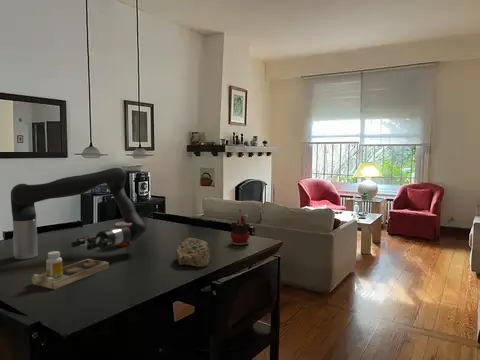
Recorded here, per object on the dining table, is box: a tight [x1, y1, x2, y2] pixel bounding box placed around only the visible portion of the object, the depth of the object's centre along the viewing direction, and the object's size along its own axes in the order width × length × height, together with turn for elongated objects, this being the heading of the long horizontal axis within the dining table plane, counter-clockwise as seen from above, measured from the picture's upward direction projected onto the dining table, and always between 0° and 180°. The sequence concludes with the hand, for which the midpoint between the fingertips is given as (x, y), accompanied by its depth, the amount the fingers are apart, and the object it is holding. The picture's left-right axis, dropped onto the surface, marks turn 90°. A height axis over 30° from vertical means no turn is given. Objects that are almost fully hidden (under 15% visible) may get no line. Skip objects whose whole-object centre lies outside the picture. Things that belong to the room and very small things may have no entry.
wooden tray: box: [31, 258, 110, 290], centre depth 147 cm, size 12×26×4 cm, turn 155°
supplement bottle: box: [45, 250, 63, 280], centre depth 140 cm, size 5×5×10 cm
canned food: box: [114, 221, 132, 248], centre depth 193 cm, size 8×8×11 cm
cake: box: [230, 208, 251, 246], centre depth 195 cm, size 11×9×18 cm
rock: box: [175, 237, 211, 268], centre depth 167 cm, size 21×14×10 cm
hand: (79, 246), depth 151 cm, fingers open, 8 cm apart
